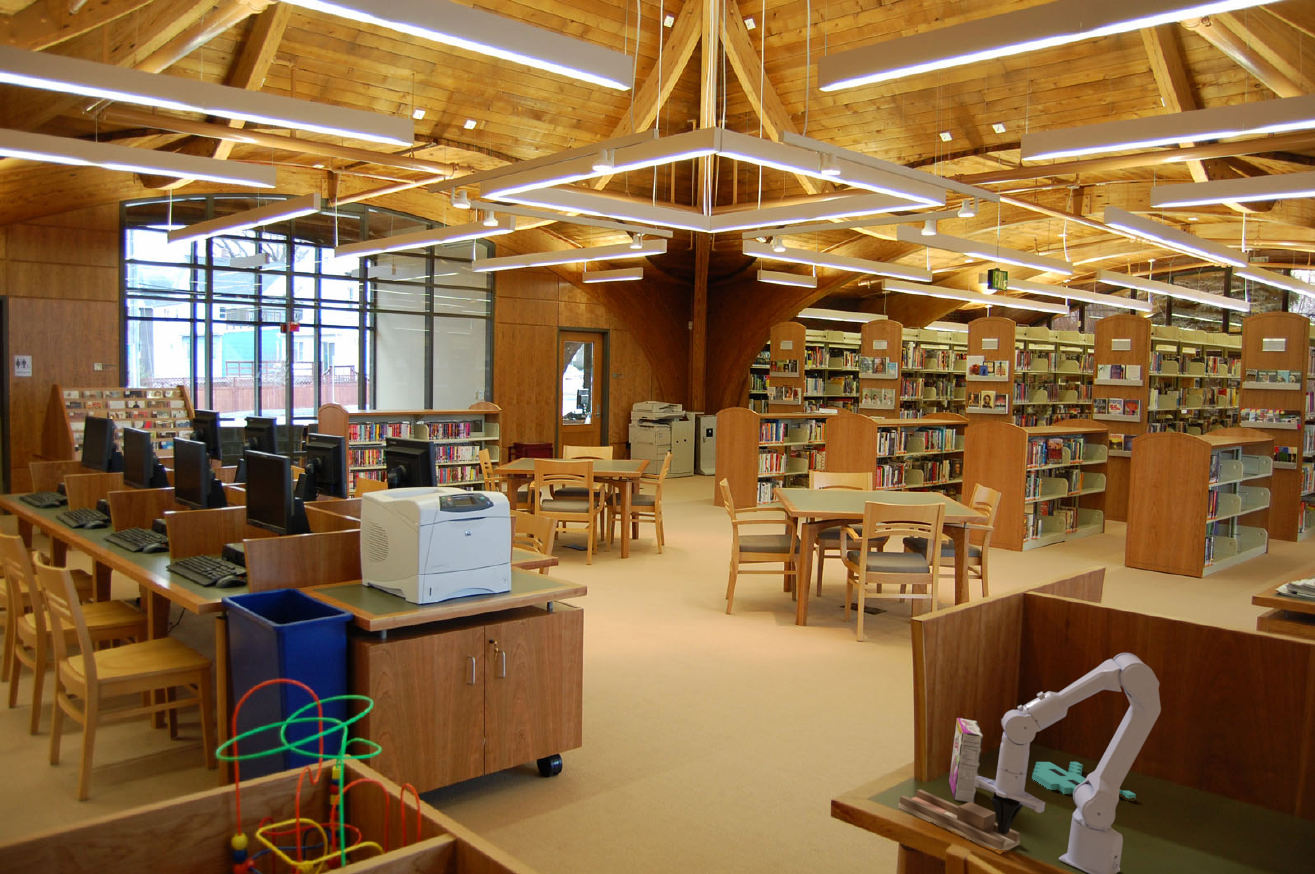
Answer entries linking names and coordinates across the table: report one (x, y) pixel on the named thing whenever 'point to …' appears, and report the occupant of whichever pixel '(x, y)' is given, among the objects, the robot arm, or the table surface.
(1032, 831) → the table surface
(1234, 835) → the table surface
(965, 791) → the candy bar box
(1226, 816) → the table surface
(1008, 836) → the chute
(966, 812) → the walnut block
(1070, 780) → the alien figure
